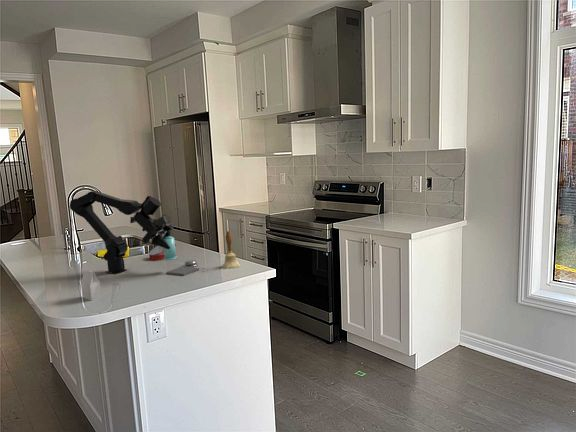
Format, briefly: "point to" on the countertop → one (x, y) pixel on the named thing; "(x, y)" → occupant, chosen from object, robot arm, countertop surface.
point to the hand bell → (230, 254)
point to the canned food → (157, 254)
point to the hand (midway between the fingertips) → (172, 247)
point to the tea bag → (90, 286)
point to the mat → (182, 271)
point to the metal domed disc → (190, 263)
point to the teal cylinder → (171, 252)
